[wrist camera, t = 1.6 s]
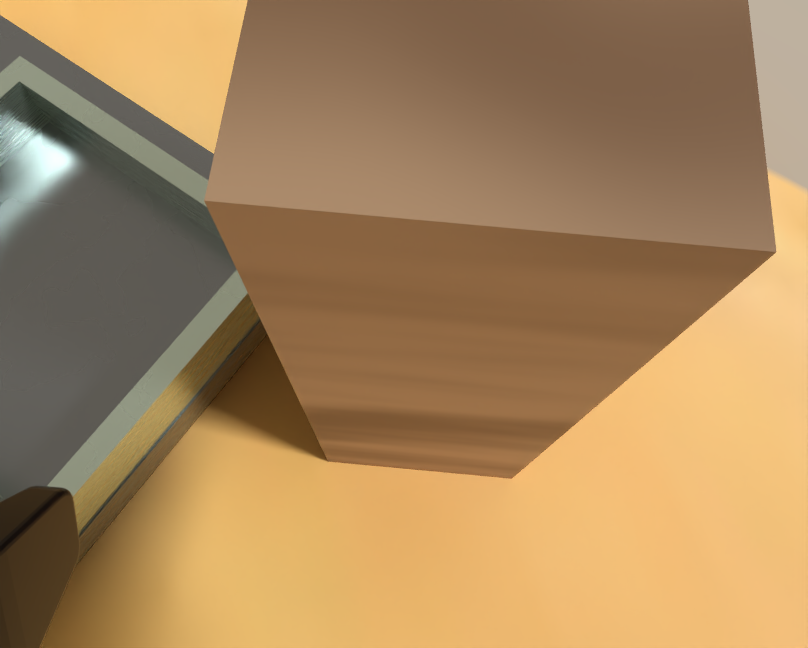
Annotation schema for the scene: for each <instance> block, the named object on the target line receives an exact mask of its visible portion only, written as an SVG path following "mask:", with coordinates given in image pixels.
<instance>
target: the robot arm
mask: <svg viewBox="0 0 808 648" xmlns="http://www.w3.org/2000/svg"><path fill="white" fill-rule="evenodd" d="M79 551H80V540H79V533H78V526H77V520H76V513H75V506H74V500H73V496H72V494H71V492H70V491H69V490H67V489H65V488H60V487H50V486H31V487H28V488H26V489H24V490H22V491H20V492H18V493H16V494H15V495H13V496H11V497H9V498H7V499H5V500H3V501H1V502H0V648H40V647H41V644H42V642H43V640H44V637H45V635H46V633H47V631H48V628H49V626H50V624H51V621H52V619H53V617H54V614H55V612H56V610H57V607H58V605H59V603H60V601H61V598H62V596H63V594H64V591H65V589H66V587H67V584H68V582H69V580H70V577H71V575H72V573H73V571H74V568H75V566H76V563H77V560H78V557H79Z"/></svg>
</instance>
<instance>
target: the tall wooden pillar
mask: <svg viewBox="0 0 808 648" xmlns="http://www.w3.org/2000/svg"><path fill="white" fill-rule="evenodd" d="M757 86H758V85H757V77H756V67H755V59H754V50H753V41H752V32H751V23H750V14H749V5H748V0H248V2H247V6H246V11H245V16H244V20H243V25H242V29H241V34H240V38H239V43H238V48H237V52H236V57H235V61H234V66H233V71H232V75H231V80H230V84H229V89H228V93H227V98H226V103H225V107H224V112H223V116H222V121H221V125H220V130H219V135H218V139H217V144H216V148H215V153H214V157H213V162H212V167H211V171H210V176H209V180H208V185H207V190H206V194H205V199H204V202H205V204H206V206H207V208H208V210H209V212H210V214H211V216H212V218H213V221H214V223H215V225H216V227H217V229H218V231H219V233H220V235H221V237H222V239H223V242H224V244H225V246H226V248H227V250H228V252H229V254H230V256H231V258H232V261H233V263H234V265H235V267H236V269H237V271H238V273H239V275H240V277H241V279H242V282H243V284H244V286H245V288H246V290H247V292H248V294H249V296H250V298H251V301H252V303H253V305H254V307H255V309H256V311H257V313H258V315H259V317H260V320H261V322H262V324H263V326H264V328H265V330H266V332H267V334H268V336H269V338H270V341H271V343H272V345H273V347H274V349H275V351H276V353H277V355H278V357H279V360H280V362H281V364H282V366H283V368H284V370H285V372H286V374H287V376H288V378H289V381H290V383H291V385H292V387H293V389H294V391H295V393H296V395H297V397H298V400H299V402H300V404H301V406H302V408H303V410H304V412H305V414H306V416H307V419H308V421H309V423H310V425H311V427H312V429H313V431H314V433H315V435H316V437H317V440H318V442H319V444H320V446H321V448H322V450H323V452H324V454H325V456H326V459H327V461H330V462H340V463H351V464H362V465H372V466H383V467H394V468H405V469H415V470H426V471H437V472H448V473H458V474H469V475H480V476H491V477H501V478H513V477H514V476H515V475H516V474H518V473H519V472H520V471H521V470H522V469H523V468H525V467H526V466H527V465H528V464H529V463H530V462H532V461H533V460H534V459H535V458H536V457H537V456H539V455H540V454H541V453H542V452H543V451H544V450H546V449H547V448H548V447H549V446H550V445H551V444H553V443H554V442H555V441H556V440H557V439H558V438H560V437H561V436H562V435H563V434H564V433H565V432H567V431H568V430H569V429H570V428H571V427H572V426H574V425H575V424H576V423H577V422H578V421H579V420H581V419H582V418H583V417H584V416H585V415H586V414H588V413H589V412H590V411H591V410H592V409H593V408H595V407H596V406H597V405H598V404H599V403H601V402H602V401H603V400H604V399H605V398H606V397H608V396H609V395H610V394H611V393H612V392H613V391H615V390H616V389H617V388H618V387H619V386H620V385H622V384H623V383H624V382H625V381H626V380H627V379H629V378H630V377H631V376H632V375H633V374H634V373H636V372H637V371H638V370H639V369H640V368H641V367H643V366H644V365H645V364H646V363H647V362H648V361H650V360H651V359H652V358H653V357H654V356H655V355H657V354H658V353H659V352H660V351H661V350H662V349H664V348H665V347H666V346H667V345H668V344H669V343H671V342H672V341H673V340H674V339H675V338H676V337H678V336H679V335H680V334H681V333H682V332H683V331H685V330H686V329H687V328H688V327H689V326H690V325H692V324H693V323H694V322H695V321H696V320H697V319H699V318H700V317H701V316H702V315H703V314H704V313H706V312H707V311H708V310H709V309H710V308H711V307H713V306H714V305H715V304H716V303H717V302H718V301H720V300H721V299H722V298H723V297H724V296H725V295H727V294H728V293H729V292H730V291H731V290H733V289H734V288H735V287H736V286H737V285H738V284H740V283H741V282H742V281H743V280H744V279H745V278H747V277H748V276H749V275H750V274H751V273H752V272H754V271H755V270H756V269H757V268H758V267H759V266H761V265H762V264H763V263H764V262H765V261H766V260H768V259H769V258H770V257H771V256H772V255H773V254H775V253H776V245H775V236H774V227H773V218H772V209H771V200H770V192H769V183H768V174H767V165H766V157H765V147H764V138H763V130H762V121H761V112H760V103H759V94H758V87H757Z"/></svg>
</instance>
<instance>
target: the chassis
mask: <svg viewBox="0 0 808 648" xmlns="http://www.w3.org/2000/svg"><path fill="white" fill-rule="evenodd" d="M213 157H214V154H213V153H211V152H210V151H208V150H207V149H205V148H204V147H202V146H200V145H199V144H197V143H196V142H194V141H193V140H191V139H190V138H188V137H187V136H185V135H184V134H182V133H180V132H179V131H177V130H176V129H174V128H173V127H171V126H170V125H168V124H167V123H165V122H164V121H162V120H161V119H159V118H157V117H156V116H154V115H153V114H151V113H150V112H148V111H147V110H145V109H144V108H142V107H141V106H139V105H137V104H136V103H134V102H133V101H131V100H130V99H128V98H127V97H125V96H124V95H122V94H121V93H119V92H117V91H116V90H114V89H113V88H111V87H110V86H108V85H107V84H105V83H104V82H102V81H101V80H99V79H98V78H96V77H94V76H93V75H91V74H90V73H88V72H87V71H85V70H84V69H82V68H81V67H79V66H78V65H76V64H74V63H73V62H71V61H70V60H68V59H67V58H65V57H64V56H62V55H61V54H59V53H58V52H56V51H54V50H53V49H51V48H50V47H48V46H47V45H45V44H44V43H42V42H41V41H39V40H38V39H36V38H35V37H33V36H31V35H30V34H28V33H27V32H25V31H24V30H22V29H21V28H19V27H18V26H16V25H15V24H13V23H11V22H10V21H8V20H7V19H5V18H4V17H2V16H1V15H0V502H1V501H3V500H5V499H7V498H9V497H11V496H13V495H15V494H16V493H18V492H20V491H22V490H24V489H26V488H28V487H31V486H50V487H60V488H65V489H67V490H69V491H70V492H71V494H72V496H73V500H74V506H75V513H76V520H77V526H78V533H79V540H80V551H79V557H78V560H77V563H78V562H79V561H80V560H81V559H82V557H83V556H84V555H85V554H86V553H87V551H88V550H89V549H90V548H91V547H92V545H93V544H94V543H95V542H96V540H97V539H98V538H99V537H100V536H101V534H102V533H103V532H104V531H105V530H106V528H107V527H108V526H109V525H110V524H111V522H112V521H113V520H114V519H115V518H116V516H117V515H118V514H119V513H120V511H121V510H122V509H123V508H124V507H125V505H126V504H127V503H128V502H129V501H130V499H131V498H132V497H133V496H134V495H135V493H136V492H137V491H138V490H139V489H140V487H141V486H142V485H143V484H144V482H145V481H146V480H147V479H148V478H149V476H150V475H151V474H152V473H153V472H154V470H155V469H156V468H157V467H158V466H159V464H160V463H161V462H162V461H163V460H164V458H165V457H166V456H167V455H168V453H169V452H170V451H171V450H172V449H173V447H174V446H175V445H176V444H177V443H178V441H179V440H180V439H181V438H182V437H183V435H184V434H185V433H186V432H187V431H188V429H189V428H190V427H191V426H192V424H193V423H194V422H195V421H196V420H197V418H198V417H199V416H200V415H201V414H202V412H203V411H204V410H205V409H206V408H207V406H208V405H209V404H210V403H211V402H212V400H213V399H214V398H215V397H216V395H217V394H218V393H219V392H220V391H221V389H222V388H223V387H224V386H225V385H226V383H227V382H228V381H229V380H230V379H231V377H232V376H233V375H234V374H235V373H236V371H237V370H238V369H239V368H240V366H241V365H242V364H243V363H244V362H245V360H246V359H247V358H248V357H249V356H250V354H251V353H252V352H253V351H254V350H255V348H256V347H257V346H258V345H259V344H260V342H261V341H262V340H263V339H264V337H265V336H266V335H267V332H266V330H265V328H264V326H263V324H262V322H261V320H260V317H259V315H258V313H257V311H256V309H255V307H254V305H253V303H252V301H251V298H250V296H249V294H248V292H247V290H246V288H245V286H244V284H243V282H242V279H241V277H240V275H239V273H238V271H237V269H236V267H235V265H234V263H233V261H232V258H231V256H230V254H229V252H228V250H227V248H226V246H225V244H224V242H223V239H222V237H221V235H220V233H219V231H218V229H217V227H216V225H215V223H214V221H213V218H212V216H211V214H210V212H209V210H208V208H207V206H206V204H205V202H204V199H205V194H206V190H207V185H208V180H209V176H210V171H211V167H212V162H213ZM77 563H76V565H77Z"/></svg>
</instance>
